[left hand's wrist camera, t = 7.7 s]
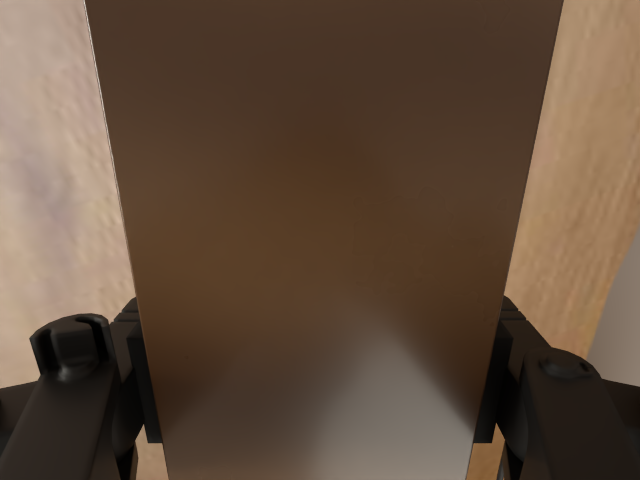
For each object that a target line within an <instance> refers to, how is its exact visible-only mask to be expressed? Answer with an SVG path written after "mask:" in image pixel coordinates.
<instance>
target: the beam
mask: <svg viewBox="0 0 640 480" xmlns="http://www.w3.org/2000/svg"><path fill="white" fill-rule="evenodd" d="M83 2H84V8H85V13H86V19H87V25H88V30H89V36H90V41H91V47H92V53H93V58H94V64H95V69H96V75H97V81H98V86H99V92H100V97H101V103H102V109H103V114H104V120H105V125H106V131H107V136H108V142H109V148H110V153H111V159H112V164H113V170H114V176H115V181H116V187H117V192H118V198H119V204H120V209H121V215H122V220H123V226H124V232H125V237H126V243H127V248H128V254H129V260H130V265H131V271H132V276H133V282H134V287H135V293H136V299H137V304H138V310H139V315H140V321H141V327H142V332H143V338H144V343H145V349H146V355H147V360H148V366H149V371H150V377H151V383H152V388H153V394H154V399H155V405H156V411H157V416H158V422H159V427H160V433H161V438H162V444H163V450H164V455H165V461H166V466H167V472H168V478H169V480H466V477H467V472H468V467H469V463H470V458H471V453H472V448H473V443H474V438H475V433H476V428H477V423H478V418H479V413H480V409H481V404H482V399H483V394H484V389H485V384H486V379H487V374H488V369H489V364H490V360H491V355H492V350H493V345H494V340H495V335H496V330H497V325H498V320H499V315H500V311H501V306H502V301H503V296H504V291H505V286H506V281H507V276H508V271H509V266H510V261H511V257H512V252H513V247H514V242H515V237H516V232H517V227H518V222H519V217H520V212H521V208H522V203H523V198H524V193H525V188H526V183H527V178H528V173H529V168H530V163H531V159H532V154H533V149H534V144H535V139H536V134H537V129H538V124H539V119H540V114H541V109H542V105H543V100H544V95H545V90H546V85H547V80H548V75H549V70H550V65H551V60H552V56H553V51H554V46H555V41H556V36H557V31H558V26H559V21H560V16H561V11H562V6H563V2H564V0H83Z"/></svg>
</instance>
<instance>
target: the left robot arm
mask: <svg viewBox="0 0 640 480" xmlns="http://www.w3.org/2000/svg"><path fill="white" fill-rule="evenodd" d="M29 339H30V342H31V345H32V349H33V352H34V355H35V358H36V361H37V365H38V368H39V371H40V374H41V375H40V377H39V379H38V381H35V382H30V383H26V384H21V385H16V386H11V387H6V388H1V389H0V480H136V473H137V465H138V453H137V447H136V443H135V440H136V438H137V436H138V434H139V432H140V430H141V428H142V426H143V424H144V427H145V431H146V436H147V441H148V443H162V438H161V433H160V427H159V422H158V416H157V411H156V405H155V399H154V394H153V388H152V383H151V377H150V371H149V366H148V360H147V355H146V349H145V343H144V338H143V332H142V327H141V321H140V315H139V310H138V304H137V299H136V297H135V298H133V299H131V300H130V301H129V303H128V304H127V305H126V306H125V307H124V308H123V310H122V313H119V314H118V315H117V317H116V318H115V319H114V322H111V323H110V325H109V322H108V319H106V318H105V317H104V316H102V315H98V314H92V313H88V314H76V315H72V316H67V317H63V318H60V319H58V320H55V321H53V322H50V323H48V324H46V325H45V326H43V327H41V328H40V329H38V330H37V331H36V332H35V333H34V334H33V335H32V336H31V337H30V338H29ZM496 423H497V425H498V427H499V429H500V431H501V433H502V435H503V436H504V438H505V443H504V447H503V452H502V456H501V461H500V465H499V469H498V474H497V480H503V477H504V480H640V387H638V386H633V385H628V384H623V383H618V382H613V381H608V380H605V379H602V378H601V377H600V374H599V373H598V372H597V371H596V369H595V368H594V367H593V366H592V365H591V364H590V363H588V362H587V361H585V360H584V359H583V358H581V357H579V356H577V355H575V354H573V353H570V352H568V351H565V350H561V349H557V348H552V347H551V346H550V345H549V344H548V343H547V342H546V340H545V339H544V338H543V337H542V336H541V335H540V334H539V332H538V331H537V330H536V329H535V328H534V327H533V325H532V324H531V323H530V322H529V321H528V320H526V317H525V316H524V315H523V314H522V313H521V312H520V311H518V308H517V307H516V306H515V305H514V304H513V302H512V301H511V300H510V299H509V298H508V297H506V296H503V301H502V306H501V311H500V315H499V320H498V325H497V330H496V335H495V340H494V345H493V350H492V355H491V360H490V364H489V369H488V374H487V379H486V384H485V389H484V394H483V399H482V404H481V409H480V413H479V418H478V423H477V428H476V433H475V438H474V443H492V439H493V435H494V430H495V425H496Z"/></svg>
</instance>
